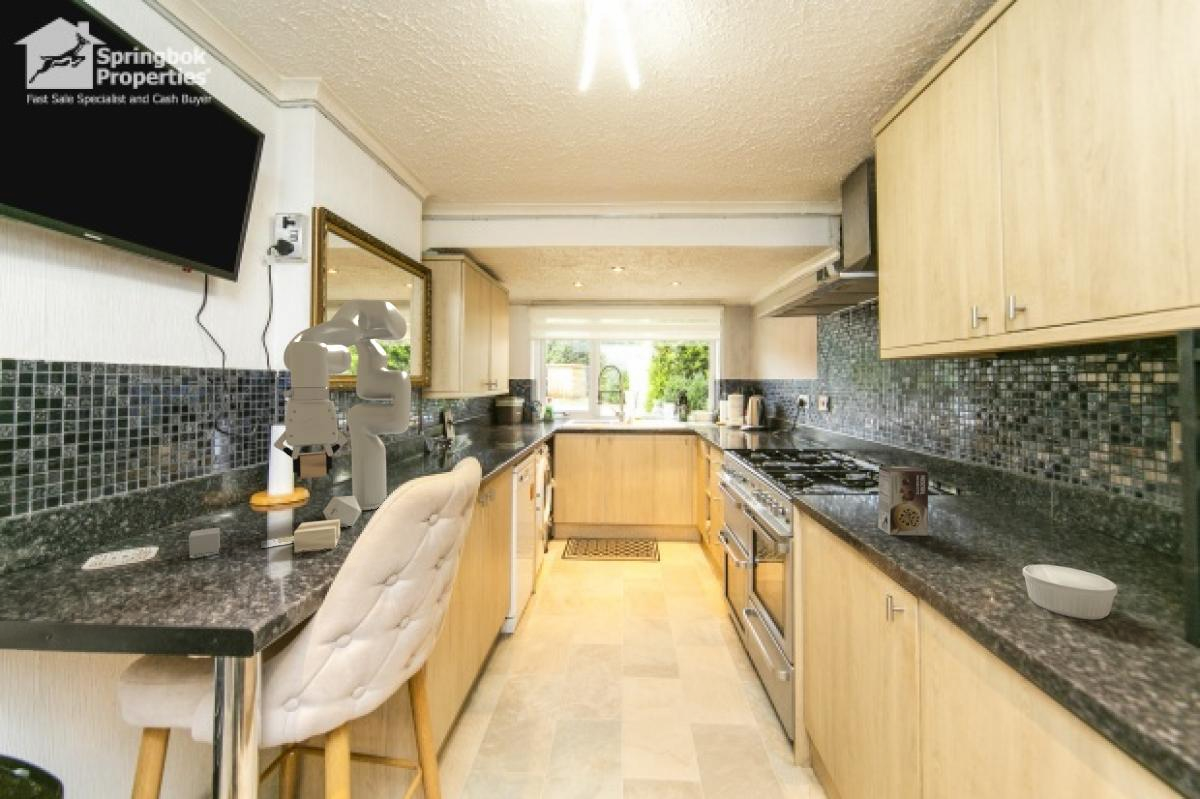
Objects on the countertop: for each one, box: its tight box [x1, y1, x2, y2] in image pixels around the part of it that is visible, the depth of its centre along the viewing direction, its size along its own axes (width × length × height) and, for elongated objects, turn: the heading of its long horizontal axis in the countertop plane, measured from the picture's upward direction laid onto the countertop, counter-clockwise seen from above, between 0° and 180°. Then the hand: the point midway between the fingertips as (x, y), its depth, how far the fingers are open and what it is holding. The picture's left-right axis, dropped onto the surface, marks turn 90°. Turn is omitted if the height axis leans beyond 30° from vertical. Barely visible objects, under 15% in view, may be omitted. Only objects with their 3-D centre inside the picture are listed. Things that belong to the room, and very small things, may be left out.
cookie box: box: [877, 466, 929, 536], centre depth 120 cm, size 9×6×16 cm
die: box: [322, 495, 363, 527], centre depth 127 cm, size 8×9×10 cm
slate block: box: [188, 527, 221, 555], centre depth 107 cm, size 5×5×5 cm
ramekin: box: [1022, 564, 1119, 620], centre depth 80 cm, size 11×11×5 cm
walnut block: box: [299, 451, 327, 479], centre depth 111 cm, size 5×5×5 cm
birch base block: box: [293, 519, 341, 552], centre depth 112 cm, size 8×8×5 cm
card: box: [273, 535, 294, 543], centre depth 114 cm, size 6×8×1 cm
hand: (312, 473), depth 111 cm, fingers closed on walnut block, 4 cm apart
